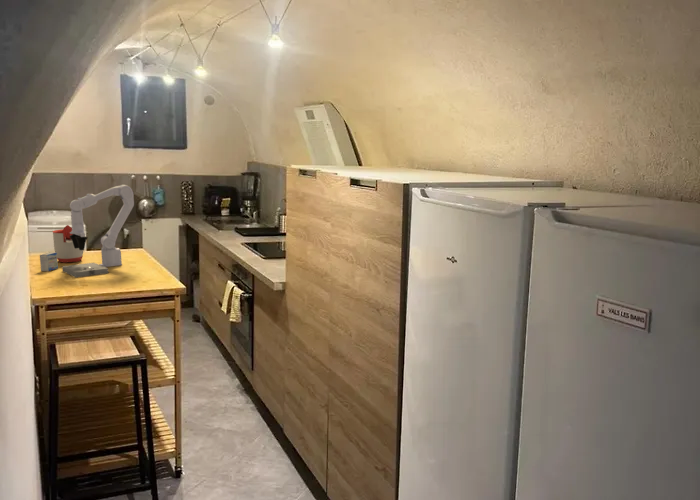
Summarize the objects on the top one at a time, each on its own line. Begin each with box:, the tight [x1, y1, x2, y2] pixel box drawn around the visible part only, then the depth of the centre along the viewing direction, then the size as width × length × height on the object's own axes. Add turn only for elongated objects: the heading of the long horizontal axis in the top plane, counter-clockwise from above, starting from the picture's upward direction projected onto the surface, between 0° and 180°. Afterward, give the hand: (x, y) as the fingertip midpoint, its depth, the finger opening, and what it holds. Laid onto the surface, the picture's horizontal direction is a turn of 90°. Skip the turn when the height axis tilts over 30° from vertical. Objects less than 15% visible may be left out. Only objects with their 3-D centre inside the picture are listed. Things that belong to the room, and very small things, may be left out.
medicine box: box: [39, 251, 59, 272], centre depth 337 cm, size 8×4×9 cm, turn 168°
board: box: [61, 262, 109, 278], centre depth 331 cm, size 16×20×2 cm
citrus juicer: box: [52, 224, 85, 264], centre depth 360 cm, size 16×17×20 cm
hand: (79, 249), depth 341 cm, fingers open, 7 cm apart
